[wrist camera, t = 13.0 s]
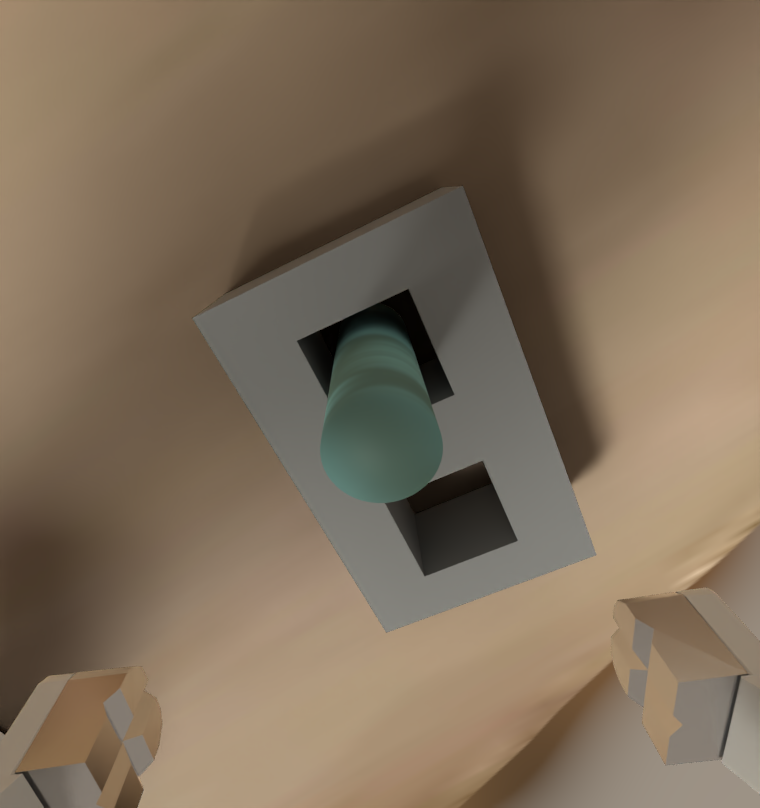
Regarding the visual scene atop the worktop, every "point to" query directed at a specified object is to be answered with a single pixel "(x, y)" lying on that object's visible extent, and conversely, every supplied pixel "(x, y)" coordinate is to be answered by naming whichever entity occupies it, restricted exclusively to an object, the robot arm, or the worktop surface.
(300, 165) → the worktop surface
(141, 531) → the worktop surface
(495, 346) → the socket block
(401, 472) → the teal peg
